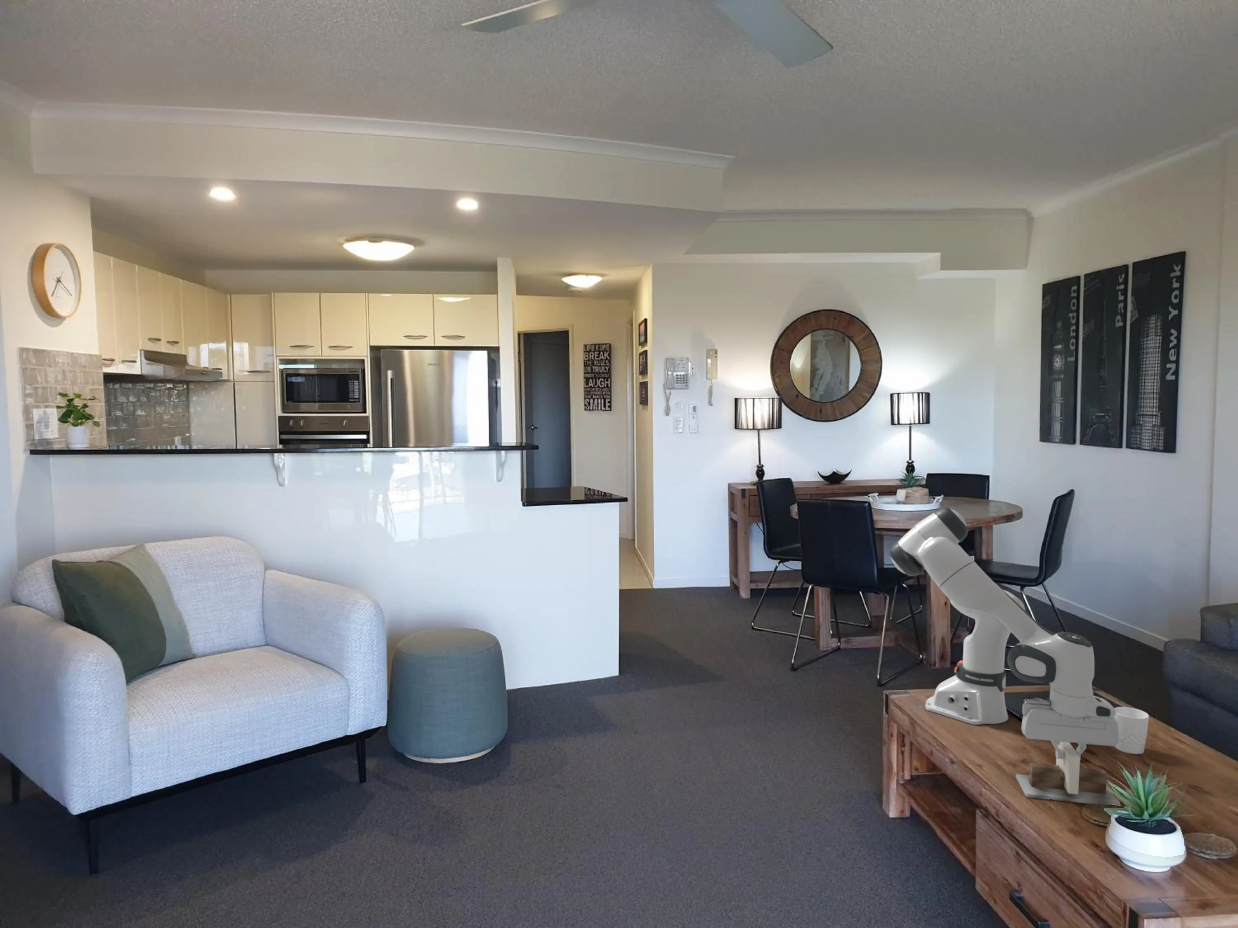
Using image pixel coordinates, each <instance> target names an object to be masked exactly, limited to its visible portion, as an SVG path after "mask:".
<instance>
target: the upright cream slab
mask: <svg viewBox="0 0 1238 928" xmlns="http://www.w3.org/2000/svg"><path fill="white" fill-rule="evenodd" d="M1057 746H1058V748H1059V749H1062V750H1063V751H1064V753H1065V755H1064V759H1057V758H1056V757H1055V759H1056V760H1055V765H1059V767H1060V768H1061V776H1065V782H1064V787H1065V789H1066V790H1067V792H1068V793H1069V794H1078V788H1079V768H1081V767H1080V764H1081V758H1080V756H1079V755H1078V754H1077V752H1076V751H1075V750H1076V749H1075V748H1074V747H1073V746H1072V743H1071V742H1061V741H1060V745H1057Z"/></svg>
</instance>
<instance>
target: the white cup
mask: <svg viewBox="0 0 1238 928" xmlns="http://www.w3.org/2000/svg"><path fill="white" fill-rule="evenodd" d="M1113 708H1114V709H1115V711H1116V714H1115V717H1114V718H1115V719H1116V721H1117V723H1118V728H1119V743H1118V744H1117V745H1116V746H1114V748H1115V749H1116V750H1118V751H1119V752H1122V753H1127V754H1133V755H1142V754H1144V753H1145V746H1146V742H1147V736H1148V727H1149V726H1148V725H1149V718H1150V715H1149V714H1148V713H1147V712H1145V711H1143V710H1141V709H1138V708H1133V707H1128V706H1127V707H1126V706H1117V707H1113Z"/></svg>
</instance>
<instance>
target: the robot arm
mask: <svg viewBox="0 0 1238 928" xmlns="http://www.w3.org/2000/svg"><path fill="white" fill-rule="evenodd" d="M967 525H968V524H967V523H966V519H964V517H963V515H961V514H960V513H959V512H957V510H954V509H952V508H950V507H948V506H941V507H940V508H937V509H935V510H934V511H933V513H932V514H930V515H928V516H926V517H924V518H923V519H922V520H920V521H918V522H917V523H916V524H915V525H914V526H913V527H912V528H910V530H908V531H907V532H906V533H905V534H904V535H903V536H902V537H901V538H900V539H899V540H898V541H895V542H894V543H893V545H892V546H891V547H890V549H889V557H890V559H891V562H892V563H893V565H894V567H895V568H896V569H897V570H898V571H900V572H901V573H903V574H905V575H907V576H908V577H916V576H918V575H921V576H923V575H925V573H924V571H926V572H927V573H928V575H929V576H930V578H931V580H932V581H933V582H934V583H935V584H936V586H937V587H938V588H939V589H940V590H941V592H942V593H943V594H944V595H945V596H946V597H947V598H948V599H949V602H950V604H951V605H952V606H953V607H954V608H955V610H956V611H958V612H960V613H961V614H962V615H965V616H967V617H969V618H972V619H973V620H975V621H974V622H975V624H974V627H973V631H972V633H970V634H969V635H967V636H966V637H964V640H963V646H962V647H963V653H962V660H959V661H958V662H957V664H956V665H955V668H954V674H955V675H953V676H951V677H949V678H947V679H945V680H944V681H942V682H940V683H939V684H938V685H937V687H936V688H935V691H934V693H933V694H934V695H931V696H930V697H928V699H927V700H926V701H925V709H926V710H927V711H929V712H933V713H936V714H939V715H941V716H945V717H948V718H950V719H951V718H952V719H955V720H957V721H960V722H964V723H966V724H971V725H975V726H977V725H985V724H989V725H995V724H1001V723H1004V722H1006V721H1008V720H1009V715H1008V712H1007V706H1006V701H1005V700H1006V699H1005V689H1006V684H1007V683H1006V682H1007V680H1006V678H1007V676H1006V669H1005V660H1006V659H1005V655H1006V646H1007V642H1008V640H1009V637H1010V635H1011V634H1012V635H1013V636H1014V637H1015V638H1016V639H1017V640H1018V641H1019V642H1018V643H1016V644H1014V646H1012V647H1011V648H1010V650H1009V651H1008V654H1007V665H1008V667H1009V670H1010V671H1011V673H1012V675H1014V676H1015V677H1016V678H1018V679H1020V680H1021V681H1023V682H1028V683H1037V684H1049V700H1048V699H1047V700H1046V699H1035V698H1034V699H1033V698H1032V699H1031V698H1030V699H1029V700H1027V701H1025V702H1023V704H1022V706H1021V707H1022V708H1021V709H1022V710H1021V712H1022V721H1021V732H1022V734H1023V736H1025V737H1026V738H1027V739H1029V740H1042V741H1049V742H1051V745H1053V747H1054V749H1055V759H1056V758H1057V759H1064V755H1065V753H1064V751H1063V750H1062V749H1059V748H1058V746H1057V745H1060V741H1061V742H1069V743H1071V744H1072V743H1073V744H1074V743H1075V744H1077V745H1078V746H1077V747H1076V748H1075V749H1074V750H1075V751H1076V752H1077V754H1078V755H1079V756H1080V759H1082V758H1081V755H1082V754H1083V753H1084V751H1085V750H1086V749H1087V745H1095V746H1106V747H1107V746H1108V747H1115V746H1116V745H1117V744H1118V743H1119V728H1118V723H1117V721H1116V719H1115V718H1114V717H1115V714H1116V711H1115V709H1114V708H1115V707H1113V705H1112V704H1111V703H1110V702H1108V701H1107V700H1106V699H1104V698H1102V697H1100V696H1096V695H1094V690H1093V686H1092V683H1093V679H1094V678H1095V655H1094V654H1095V653H1094V648H1093V645H1092V643H1091V641H1090V640H1088V639H1087V638H1085V636H1082V635H1079V634H1077V633H1074V632H1068V631H1059V632H1057V633H1055V632H1053V631H1051V630H1050V629H1048V628H1047V627H1044V626H1042V625H1041V624H1040V623H1039V622H1038V621H1037V620H1035V618H1033V617H1032V616H1031V615H1030V614H1029V613H1028V611H1026V608H1025V604H1024V603H1023V601H1022V600H1021V599H1020V598H1019V597H1017V596H1015V595H1014V594H1013V593H1011V592H1010V591H1008V590H1006V589H1005V590H1004V589H1003V588H1001V587H1000V586H999V585H998V584H997V583H996V582H995V581H993V580H992V579H991V577H990V576H989V575H987V573H985V571H983V569H982V568H981V567H980V566H979V565H978V564H977V563H976V561H975V560H974V559H972V557H971V556H970V555H969V554H968V553H967V552H966V551H965V550H964V549H963V548H962V546H961V545H959V543H962V541H964V539H966V538H967V536H968V534H969V528H968V526H967Z"/></svg>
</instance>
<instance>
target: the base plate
mask: <svg viewBox="0 0 1238 928" xmlns="http://www.w3.org/2000/svg"><path fill="white" fill-rule="evenodd" d="M1107 777H1108V773H1107V772H1106V771H1105V770H1104V769H1099V768H1090V767H1089V768H1088V767H1080V768H1079V788H1078V794H1069V793H1068V792H1067V790H1066V789H1065V787H1064V782H1065V776H1061V768H1060V767H1059V765H1056V764H1048V763H1047V764H1046V763H1036V762H1030V763H1029V774H1018V773H1016V774H1015V778H1016V781H1017V782H1018V784H1019V785H1020V788H1021V790H1022V791H1023V794H1024V795H1025V797H1026V798H1030V799H1031V798H1032V799H1040V800H1041V799H1042V800H1050V799H1052V801H1061V802H1069V801H1070V803H1080V804H1089V805H1090V804H1091V805H1098V804H1099V806H1100V805H1101V806H1107V805H1112V804H1116V805H1119V804H1120V802H1121V801H1120V800H1119V801H1120V802H1119V801H1118V800H1117V799H1116V798H1115V797H1114V796H1113V794H1111V792H1110V791H1109V790H1108V789H1107V787H1106V784H1107Z"/></svg>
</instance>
